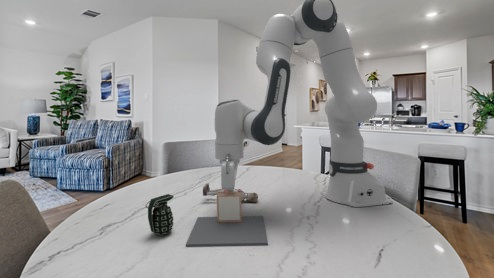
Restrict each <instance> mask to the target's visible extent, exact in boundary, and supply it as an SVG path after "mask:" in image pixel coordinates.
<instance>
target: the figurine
mask: <svg viewBox="0 0 494 278" xmlns="http://www.w3.org/2000/svg"><path fill="white" fill-rule="evenodd" d="M218 193H227V190H223V189H222V188H217V189H215V188H214V189H211V188H210V184H209V183H208V182H207V183H205V185H204V186H203V187H202V196H203V197H206V196H209V197H211V196H212V197H213V196H214V197H215V196H217V194H218ZM233 193H241V202H242V201H244V200H245V202H244V203H246V202H249V203H253V204H254V203H257V202H258V201H259V195H258V193H256V192H245V191H243V190H242V189H241V188H237V189H236V188H234V189H233Z"/></svg>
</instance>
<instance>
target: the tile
mask: <svg viewBox="0 0 494 278" xmlns="http://www.w3.org/2000/svg"><path fill="white" fill-rule="evenodd" d="M216 212H217V213H216V215H217V216H216V217H217V222H242V216H243V215H242V212H243V211H242V201H241V193H218V194H217V195H216Z"/></svg>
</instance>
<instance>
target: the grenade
mask: <svg viewBox="0 0 494 278" xmlns="http://www.w3.org/2000/svg"><path fill="white" fill-rule="evenodd" d="M173 199H174V195H171V194H169V193H167V194H166V193H165V194H163V195H160V196H157V197H153V198H151V199H150V200H149V201H147V202H146V204H145V208H146V209H147V220H148V224H149V228H150V231H151V233H153V234H155V235H156V236H160V237H161V236H163V237H164V236H167V235H168V234H169V233H170V232H171V231H172V230H173V226H174V216H173V215H174V214H173V211H172V208H171V206H168V202H169V201H171V200H173Z"/></svg>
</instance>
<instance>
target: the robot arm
mask: <svg viewBox="0 0 494 278" xmlns="http://www.w3.org/2000/svg"><path fill="white" fill-rule="evenodd" d="M336 9H337V8H336V5H335V4H334V2H333V0H304V1H303V2H302V3H301V4H299V6H298V7H297V8H296V9H295V10H294V12H293V13H292V14H291V15H288V14H285V13H277V14H274V15H272V16H270V17H269V20H268V21H267V23H266V25H265V27H264V30H263V32H262V34H261V37H260V41H259V44H258V47H257V51H256V58H255V64H256V66H257V68H258V69H259V71H260V72H261V73H262V74H263V75H264V76H266V77H267V87H266V91H265V98H264V103H263V105H262V108H260V110H255V109H253V108H251V107H249V106H247V105H245V103H243V102H242V101H241V100H239V99H231V100H227V101H222V102H221V101H220V102H219V103H218V104H217V105H215V110H214V132H215V142H214V152H215V154H214V155H215V159H217V160H219V164H220V165H221V166H220V167H221V168H220V169H221V170H220V175H221V176H220V181H221V182H220V183H221V185H220V187H221V189H223V190H227V193H233V189H235V184H236V179H237V173H238V167H239V166H238V165H239V164H240V162H241V161H240V160H241V159H244V158H245V157H244V156H245V155H244V141H245V140H250V141H252V142H257V143H260V144H262V145H265V146H272V145H275V144H277V143H278V142H279V141H280V140H281V139H282V137H284V134H285V131H286V117H285V116H286V114H285V113H286V104H287V100H288V93H289V88H290V81H291V65H290V63H291V57H292V53H293V49H294V46H302V45H305V44H306V43H308V42H309V41H311V40H312V41H313V43H315V45H316V47H317V50H318V55H319V61H320V64H321V69H322V75H323V77H324V81H325V82H326V83H327V85H328V86H329V88H330V90H331V92H332V94H333V95H332V96H331V97H330V98H328V100H327V101H326V102H325V105H324V112H325V114H326V117H327V122H328V130H329V135H330V159H329V164H328V173H329V177H328V178H329V180H328V184H327V189H326V193H325V198H326V199H327V200H329V201H331V202H334V203H337V204H341V205H347V206H350V207H353V208H361V207H362V208H363V207H370V206H371V207H372V206H373V207H374V206H381V205H382V204H383V205H390V204H389V203H392V204H393V198H392V197H391V196H389V194H386V189H385V185H384V183H383V182H382V181H381V180H379V179H378V178H377V177H375V176H374V175H373V174H371V172H369V170H374V167H375V165H374V164H373V163H370V162H366V161H364V145H365V144H364V143H365V142H364V138H363V136H362V134H361V131H360V127H359V124H361V123H364V122H366V121H367V122H368V121H369V120H370V119H372V118H373V117H374V116H375V115H376V113H377V111H378V102H377V99H376V98H375V96H374V95H373V94H372V93H370V91H369V90H368V88H367V87H366V85H365V82H363V80H362V77H361V75H360V72H359V69H358V66H357V62H356V57H355V52H354V50H353V49H354V48H353V45H352V41H351V37H350V34H349V32H348V30H347V27H346V26H345V23H344V22H343V21H342V20H338V13H337V10H336ZM368 169H369V170H368Z"/></svg>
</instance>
